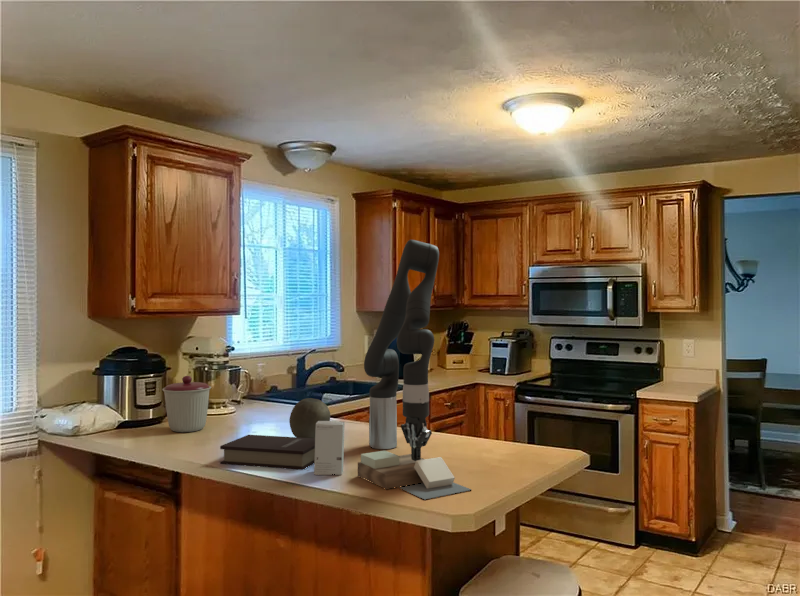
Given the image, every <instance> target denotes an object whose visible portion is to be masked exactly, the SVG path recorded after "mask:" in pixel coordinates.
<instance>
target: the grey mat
mask: <svg viewBox="0 0 800 596" xmlns="http://www.w3.org/2000/svg"><path fill="white" fill-rule="evenodd" d="M399 488H401V489H403V490H405V491H407V492H406V493H408V492H409V493H408V494H410V493H411V494H410V495H412V494H413V495H412V496H414V495H415V496H414V497H416V496H417V497H416V498H418V497H419V499H421V498H422V499H421V500H423V499H424V500H423V501H427V500H426V499H429V500H432V499H431V498H434V499H437V498H436V497H438V498H441V497H440V496H443V497H446V495H448V496H452V495H451V494H453V495H456V494H455V493H458V494H461V493H460V492H463V493H467V492H466V491H468V492H471V491H470V490H472V489H471V488H468V487H466V486H463V485H460V484H459V483H456V482H454V481H453V484H452V485H446V486H440V487H434V488H428V489H427V488H426V486H425V485H424V483H421V484H415V485H410V486H405V487H399ZM401 489H400V490H401ZM403 490H402V491H403ZM405 491H404V492H405Z"/></svg>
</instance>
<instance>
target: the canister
mask: <svg viewBox="0 0 800 596" xmlns="http://www.w3.org/2000/svg"><path fill="white" fill-rule="evenodd" d="M181 379H182V382H177V383H176V382H175V383H170V384H168V385H166V386H165V387H163V388H162V391H163V392H164V393H163V394H164V401H165V409H166V417H167V423H168V427H169V429H170V430H171V431H172V432H175V433H193V432H196V431H201V430H203V429H204V428H205V427H206V422H207V418H208V409H209V399H210V390H211V389H212V385H209V384H208V383H206V382H199V381H192V380H193V378H192V377H191V376H190V375H185V376H183V377H182V378H181Z"/></svg>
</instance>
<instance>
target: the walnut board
mask: <svg viewBox="0 0 800 596" xmlns="http://www.w3.org/2000/svg"><path fill="white" fill-rule="evenodd" d="M398 456H399V465H395V466H389V467H383V468H377V469H374V468H372V467H369V466H367V465H365V464H362V463H361V461H358V462H357V477H358V476H360V477H362V478H365V479H367V480H369V481H371V482H373V483H375V484H377V485H379V486H381V487H383V488H385V489H389V488H394V487H399V488H400V486H406V485H410V486H411V485H412V484H415V485H416V484H418V483H423V481H422V480H421V478H420V476H419V475H418V473H417V471H416V470H415V468H414V466H415V463H416V461H414V460H412V459H411V453H408V454H403V455H402V454H401V455H398ZM423 459H424V458H422V457H421V459H420V460H423ZM360 477H359V478H360ZM362 478H361V479H362ZM365 479H364V480H365ZM367 480H366V481H367ZM369 481H368V482H369ZM371 482H370V483H371ZM373 483H372V484H373ZM375 484H374V485H375ZM377 485H376V486H377ZM379 486H378V487H379ZM381 487H380V488H381ZM383 488H382V489H383ZM385 489H384V490H385ZM394 489H395V488H394ZM389 490H390V489H389Z"/></svg>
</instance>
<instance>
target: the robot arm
mask: <svg viewBox="0 0 800 596" xmlns="http://www.w3.org/2000/svg"><path fill="white" fill-rule="evenodd" d="M439 260H440V251H439V248H438V246H437V245H434V244H431V243H426V242H424V241H420V240H416V239H409V240H407V242H406V243H405V245H404V247H403V250H402V253H401V257H400V260H399V264H398V266H397V267H398V269H397V271H396V275H395V278H394V281H393V285H392V287H391V289H390V292H389V295H388V298H387V301H386V304H385V306H384V310H383V313H382V315H381V318H380V321H379V324H378V327H377V329H376V332H375V334H374V336H373V339H372V341H371V343H370V345H369V347H368V349H367V352H366V354H365V356H364V361H363V369H364V372H365V374H366V375H367V376H369V377H371V378H380V377H381V379H380V380H379V382H378V383H377V384H375V385H373V386H371V387H370V389H369V418H368V437H369V438H368V439H369V441H368V443H369V447H370V448H371V447H372V449H375V450H390V449H395V448H396V446H398V431H397V430H398V426H397V424H398V422H397V419H398V417H397V413H398V412H397V391H398V389H399V373H400V372H399V371H400V363H399V356H398V354H397V352H396V351H395V350H394V349H393V348H389V346H390V345H391V344H392V342H393V341H395V340H396V346H397V350H398V351H399V353H401V354H403V355H421V356H420V359H418V360H415V361H410V362H407V363H405V364H404V366H403V372H402V373H403V385H402V386H403V387H402V416H403V417H405V422H404V424H402V423H401V424H400V428H401V430H402V434H403V437H404V438H405V442H406V443H407V444H409V447H410V454H411V459H412V460H414V461H416V460H420V459H421V458H422V455H421V454H422V449H421V448H423V447H426V446H427V444H428V442H429V440H430V438H431V436H432V430H431V429H430V430H429V429H428V428H427V420H426V419H427V417H429V415H430V390H429V364H430V359H431V356H432V352H433V348H434V345H435V337H434V333H433V332H432V331H431V330H429V329H426V327H427V326H428V325H429V323H430V316H431V315H430V314H431V302H432V301H431V299H432V294H433V290H434V286H435V280H436V275H437V271H438V267H439ZM410 270H412V271H415V272H419V273H423V274H425V275H424V277H423V279H422V280H421V282H420V283H419V284H417V285H416V287H415V288H414V289H413V290H412V291H411V288H410V284H409V278H408V274H409V271H410Z"/></svg>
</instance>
